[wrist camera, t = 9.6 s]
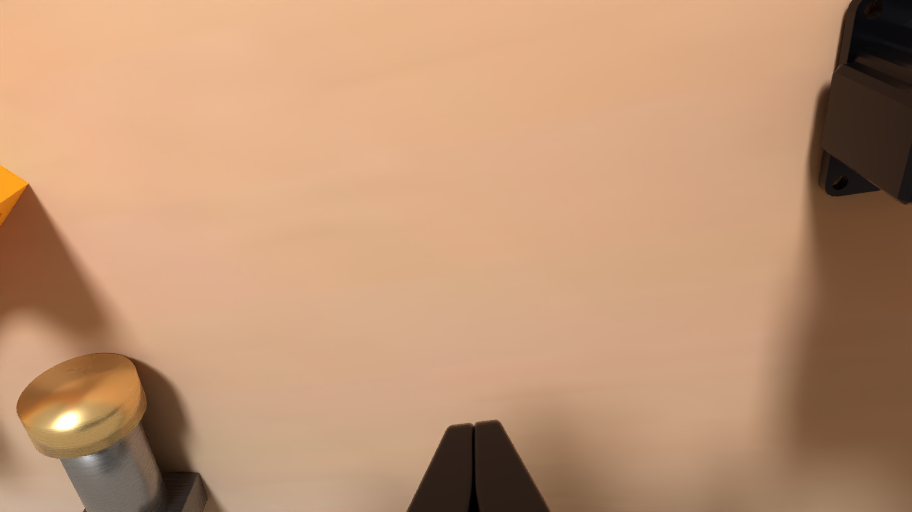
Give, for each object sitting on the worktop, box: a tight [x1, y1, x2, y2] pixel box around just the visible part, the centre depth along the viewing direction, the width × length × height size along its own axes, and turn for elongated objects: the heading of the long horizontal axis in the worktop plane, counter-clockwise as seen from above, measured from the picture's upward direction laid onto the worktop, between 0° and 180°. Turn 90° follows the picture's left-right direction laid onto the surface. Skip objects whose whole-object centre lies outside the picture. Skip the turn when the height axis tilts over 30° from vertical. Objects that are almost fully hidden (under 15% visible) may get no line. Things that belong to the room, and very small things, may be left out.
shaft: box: [17, 353, 207, 512], centre depth 25 cm, size 10×4×4 cm, turn 179°
